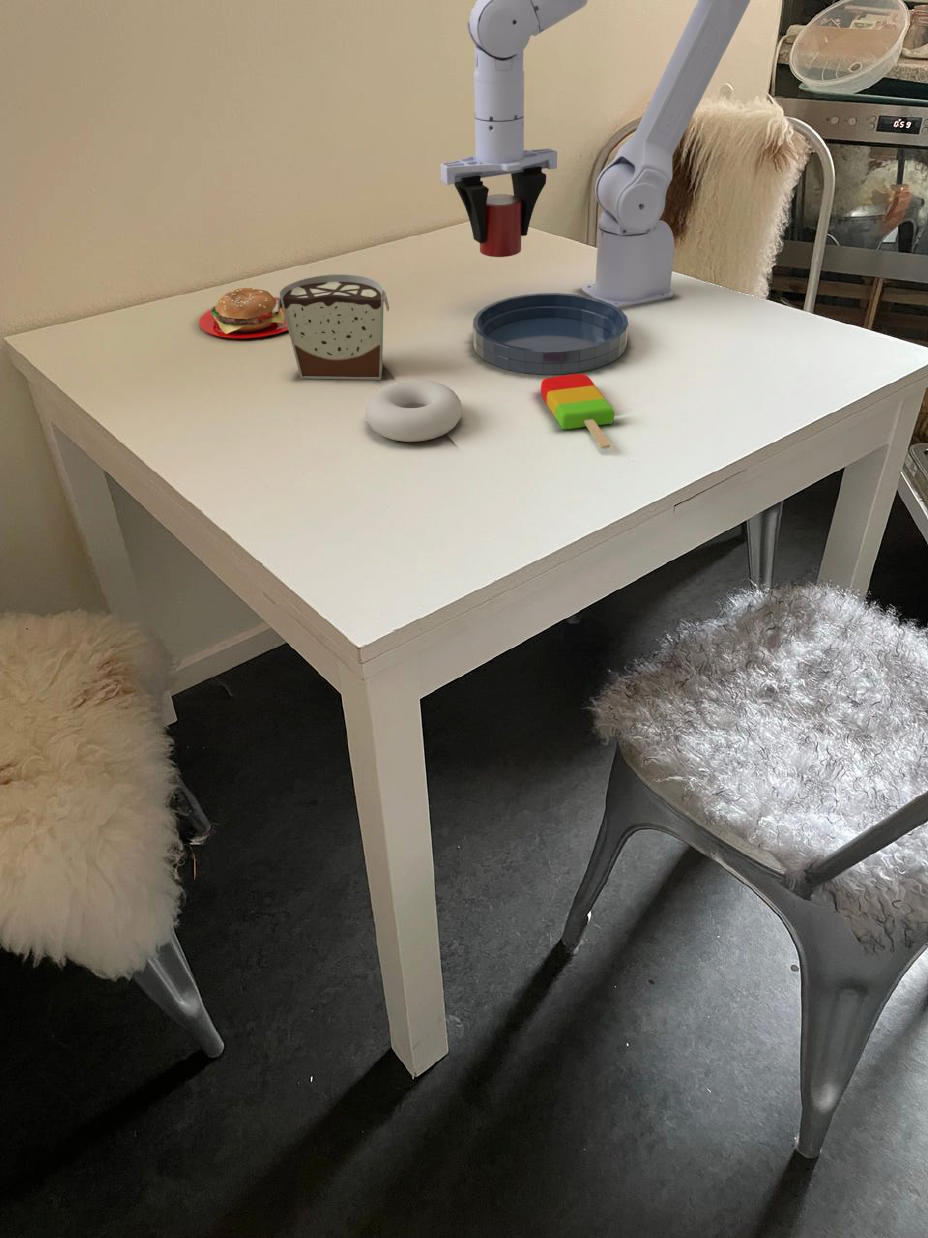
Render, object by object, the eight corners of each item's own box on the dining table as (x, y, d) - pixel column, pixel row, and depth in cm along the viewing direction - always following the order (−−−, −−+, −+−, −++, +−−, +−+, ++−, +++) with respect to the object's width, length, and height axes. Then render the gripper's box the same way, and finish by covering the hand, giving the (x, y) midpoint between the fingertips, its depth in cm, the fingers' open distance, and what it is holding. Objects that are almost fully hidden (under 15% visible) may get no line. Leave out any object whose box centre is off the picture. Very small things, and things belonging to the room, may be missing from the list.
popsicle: (586, 387, 106) (586, 370, 105) (632, 451, 94) (634, 434, 93) (537, 393, 105) (537, 376, 104) (578, 459, 93) (579, 441, 92)
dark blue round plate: (579, 306, 124) (580, 283, 123) (655, 358, 111) (658, 333, 109) (450, 332, 119) (449, 308, 117) (514, 389, 106) (514, 363, 104)
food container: (402, 357, 114) (396, 272, 107) (394, 379, 109) (387, 292, 103) (300, 356, 115) (288, 272, 108) (288, 378, 110) (274, 291, 104)
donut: (416, 396, 106) (346, 426, 100) (414, 366, 103) (343, 395, 98) (482, 423, 100) (412, 457, 94) (482, 392, 98) (410, 425, 92)
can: (510, 241, 123) (510, 191, 119) (528, 252, 120) (528, 201, 116) (473, 247, 122) (471, 197, 118) (490, 259, 118) (489, 207, 114)
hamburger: (323, 326, 122) (317, 279, 118) (215, 349, 117) (205, 300, 113) (289, 292, 132) (282, 248, 128) (188, 312, 127) (178, 266, 123)
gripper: (455, 130, 106) (459, 255, 115) (571, 115, 110) (566, 236, 119) (431, 118, 111) (437, 239, 120) (542, 104, 116) (540, 221, 124)
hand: (500, 237), depth 120 cm, fingers closed on can, 5 cm apart
